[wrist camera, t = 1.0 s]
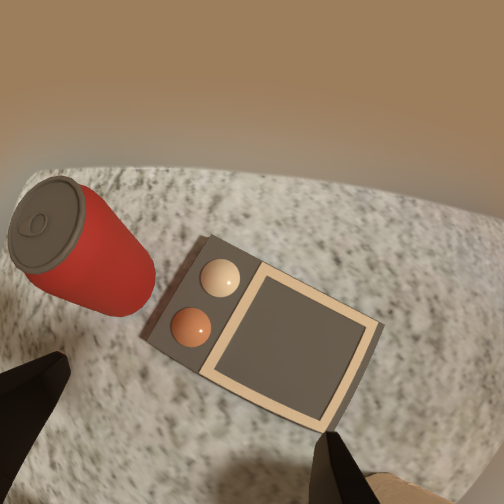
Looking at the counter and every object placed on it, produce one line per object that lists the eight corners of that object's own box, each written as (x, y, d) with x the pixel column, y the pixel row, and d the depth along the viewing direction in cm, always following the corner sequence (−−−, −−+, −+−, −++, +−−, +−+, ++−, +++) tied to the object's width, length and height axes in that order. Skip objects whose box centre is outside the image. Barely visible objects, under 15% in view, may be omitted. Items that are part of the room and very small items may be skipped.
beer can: (90, 249, 24) (12, 182, 13) (155, 238, 25) (99, 154, 13) (91, 321, 22) (-5, 289, 11) (161, 314, 23) (89, 275, 11)
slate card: (326, 433, 20) (330, 437, 19) (150, 341, 22) (145, 340, 21) (379, 326, 23) (385, 324, 22) (212, 238, 25) (211, 233, 24)
